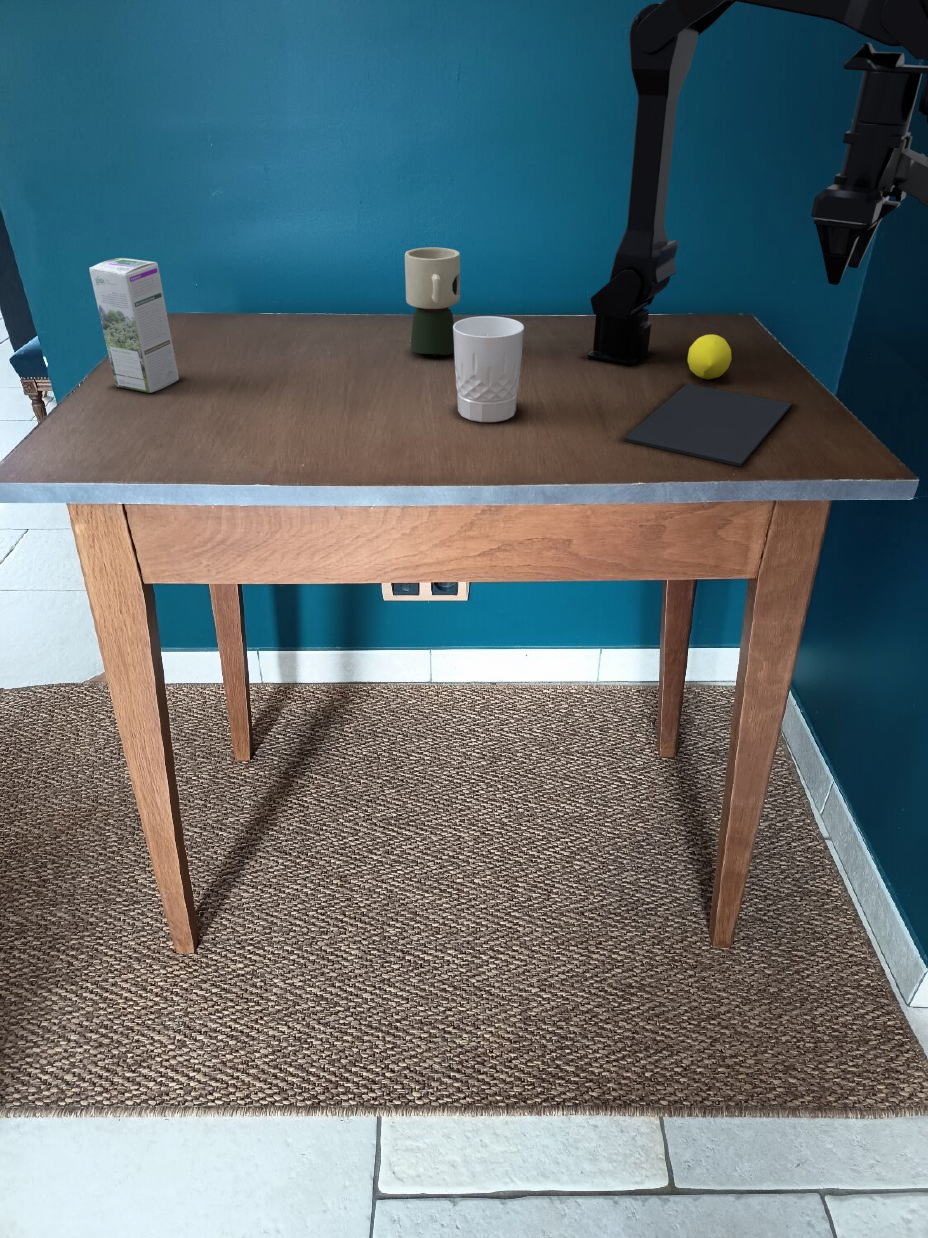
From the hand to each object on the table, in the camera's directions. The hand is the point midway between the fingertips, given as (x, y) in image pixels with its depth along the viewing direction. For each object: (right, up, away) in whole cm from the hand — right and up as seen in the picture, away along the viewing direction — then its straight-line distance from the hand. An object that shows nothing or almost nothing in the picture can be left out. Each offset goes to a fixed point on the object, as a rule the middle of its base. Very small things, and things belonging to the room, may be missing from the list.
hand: (843, 275), depth 105 cm
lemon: (-13, -9, +12) cm, 20 cm away
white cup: (-41, -15, +2) cm, 44 cm away
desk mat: (-15, -17, 0) cm, 23 cm away
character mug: (-48, -3, +20) cm, 52 cm away
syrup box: (-83, -10, +10) cm, 84 cm away
